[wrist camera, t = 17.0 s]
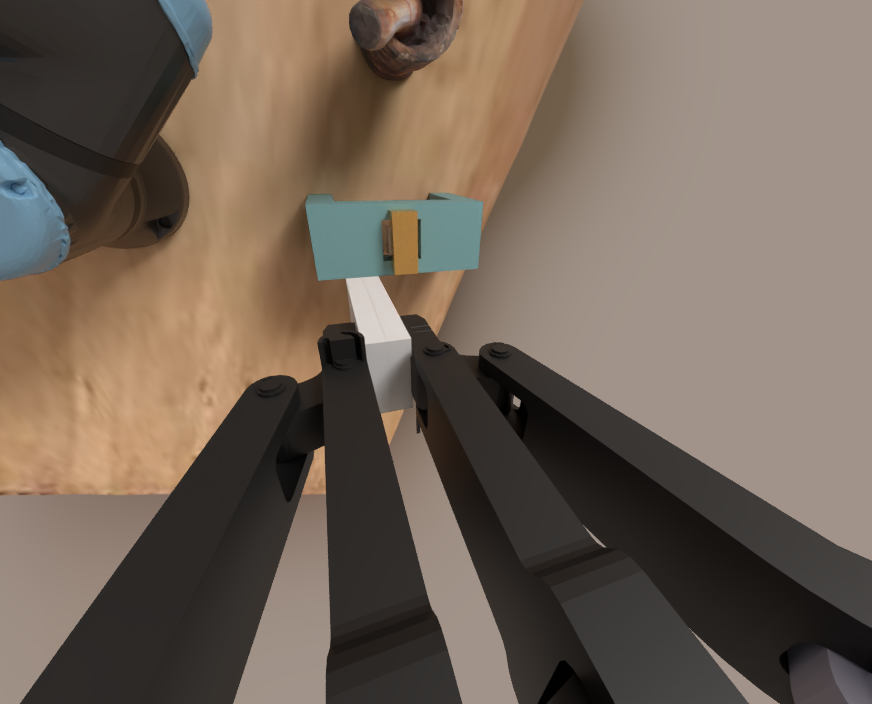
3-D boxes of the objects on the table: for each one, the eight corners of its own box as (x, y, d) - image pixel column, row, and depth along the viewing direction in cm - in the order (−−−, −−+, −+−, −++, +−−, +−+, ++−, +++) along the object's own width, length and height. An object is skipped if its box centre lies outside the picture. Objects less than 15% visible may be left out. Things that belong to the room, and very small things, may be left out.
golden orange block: (375, 248, 50) (393, 275, 38) (371, 198, 46) (389, 212, 35) (396, 247, 50) (419, 273, 39) (394, 198, 47) (419, 211, 35)
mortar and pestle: (388, 127, 43) (432, 108, 27) (325, 75, 39) (332, 13, 22) (436, 35, 40) (520, -51, 24) (374, -33, 36) (424, -196, 19)
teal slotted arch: (317, 254, 48) (317, 280, 38) (307, 194, 44) (305, 204, 34) (446, 247, 53) (477, 268, 43) (448, 192, 49) (483, 201, 39)
